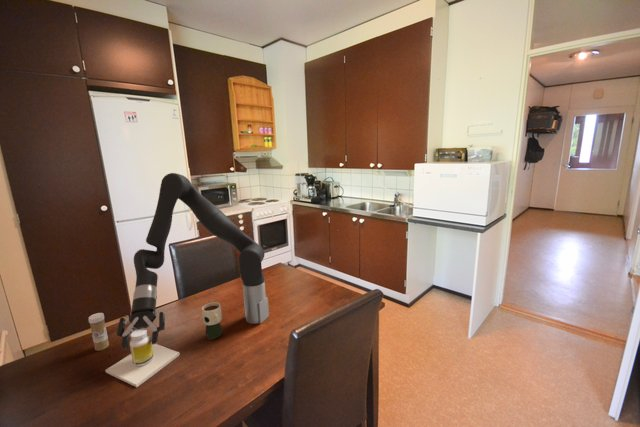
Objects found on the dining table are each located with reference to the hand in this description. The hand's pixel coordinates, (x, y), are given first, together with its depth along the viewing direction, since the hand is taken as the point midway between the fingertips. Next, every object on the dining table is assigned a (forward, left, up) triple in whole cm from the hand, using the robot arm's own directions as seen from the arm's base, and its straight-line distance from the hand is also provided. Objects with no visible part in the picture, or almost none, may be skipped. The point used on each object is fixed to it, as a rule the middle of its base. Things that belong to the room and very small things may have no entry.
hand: (139, 346), depth 98 cm
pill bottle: (+1, -1, -7) cm, 7 cm away
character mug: (-11, -23, -8) cm, 26 cm away
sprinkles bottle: (+24, -1, -8) cm, 26 cm away
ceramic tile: (+1, -1, -8) cm, 8 cm away
